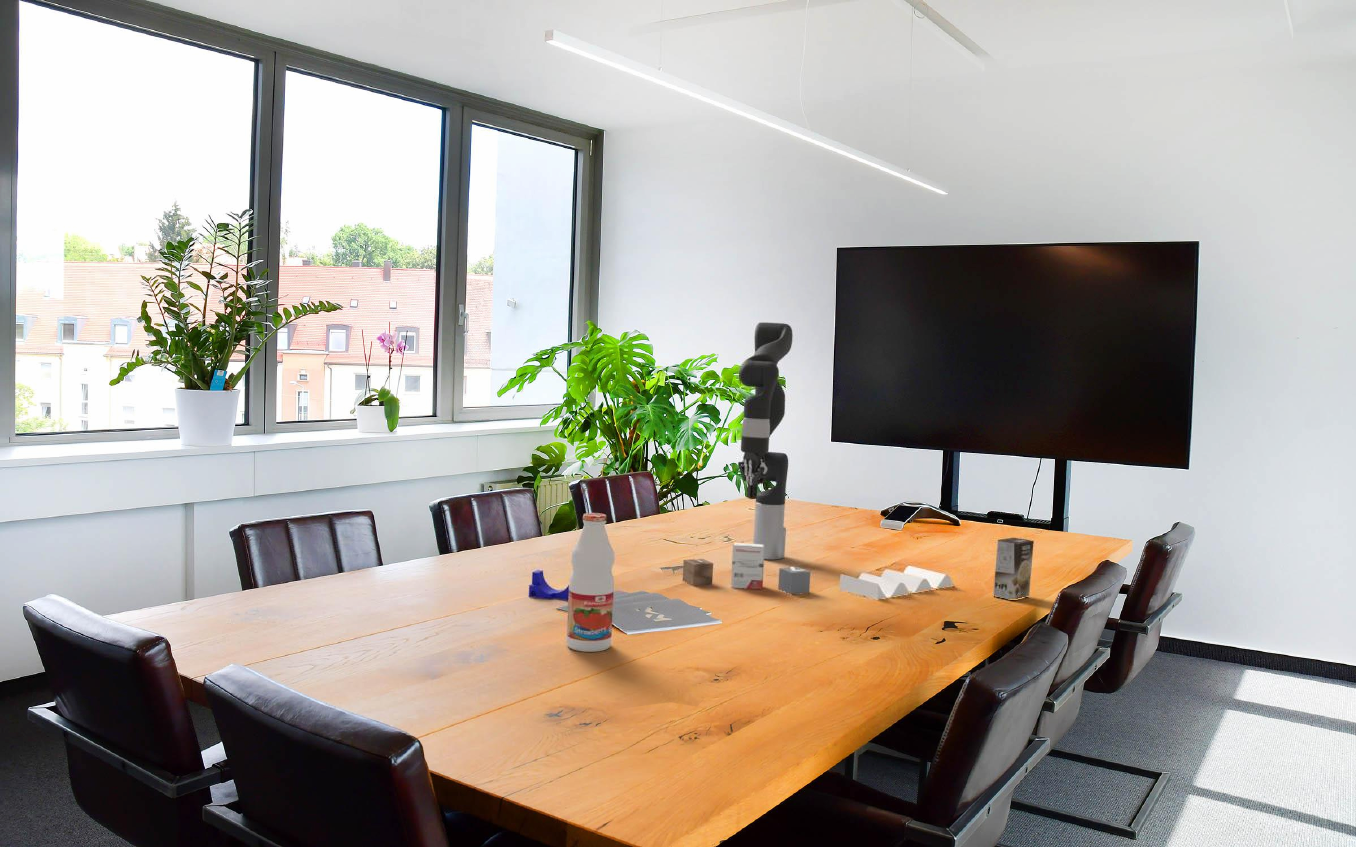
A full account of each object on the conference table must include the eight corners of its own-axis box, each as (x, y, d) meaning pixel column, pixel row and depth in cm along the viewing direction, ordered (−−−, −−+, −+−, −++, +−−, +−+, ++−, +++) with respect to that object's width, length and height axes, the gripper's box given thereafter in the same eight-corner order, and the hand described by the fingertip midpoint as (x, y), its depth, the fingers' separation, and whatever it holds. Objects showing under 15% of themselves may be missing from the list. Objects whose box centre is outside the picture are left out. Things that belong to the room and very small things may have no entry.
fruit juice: (602, 638, 214) (608, 510, 212) (617, 651, 206) (623, 518, 204) (560, 641, 210) (566, 511, 209) (574, 654, 202) (580, 518, 200)
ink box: (762, 586, 272) (765, 543, 271) (762, 590, 267) (764, 547, 266) (731, 583, 273) (733, 541, 272) (730, 587, 268) (732, 544, 267)
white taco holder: (955, 588, 284) (956, 570, 284) (877, 603, 262) (878, 583, 261) (917, 579, 294) (919, 562, 294) (839, 592, 272) (840, 573, 272)
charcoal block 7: (796, 588, 271) (797, 565, 271) (809, 593, 266) (810, 570, 266) (778, 589, 269) (779, 567, 268) (790, 595, 263) (792, 571, 263)
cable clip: (528, 597, 247) (529, 573, 247) (536, 593, 252) (537, 569, 251) (572, 603, 244) (573, 579, 243) (580, 599, 248) (581, 575, 247)
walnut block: (701, 579, 276) (702, 557, 275) (712, 584, 270) (713, 562, 270) (682, 581, 273) (683, 558, 272) (692, 586, 268) (694, 563, 267)
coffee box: (1014, 602, 268) (1018, 543, 267) (992, 597, 273) (996, 539, 272) (1029, 597, 275) (1034, 540, 274) (1008, 592, 279) (1012, 536, 278)
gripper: (780, 437, 263) (776, 502, 264) (754, 432, 274) (750, 494, 276) (756, 437, 259) (753, 502, 260) (730, 432, 271) (727, 495, 272)
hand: (751, 498), depth 268 cm, fingers closed
